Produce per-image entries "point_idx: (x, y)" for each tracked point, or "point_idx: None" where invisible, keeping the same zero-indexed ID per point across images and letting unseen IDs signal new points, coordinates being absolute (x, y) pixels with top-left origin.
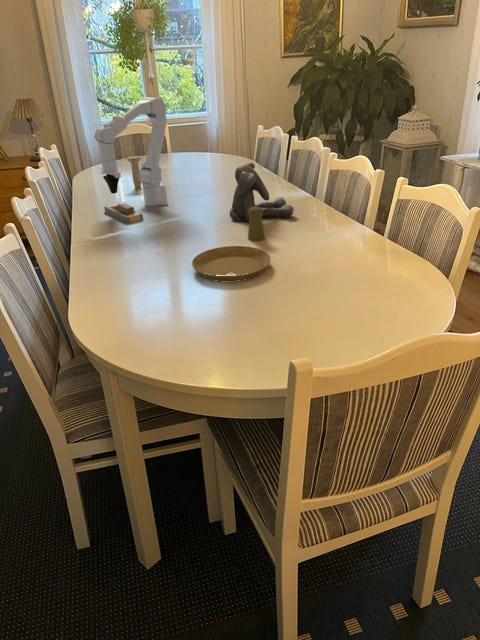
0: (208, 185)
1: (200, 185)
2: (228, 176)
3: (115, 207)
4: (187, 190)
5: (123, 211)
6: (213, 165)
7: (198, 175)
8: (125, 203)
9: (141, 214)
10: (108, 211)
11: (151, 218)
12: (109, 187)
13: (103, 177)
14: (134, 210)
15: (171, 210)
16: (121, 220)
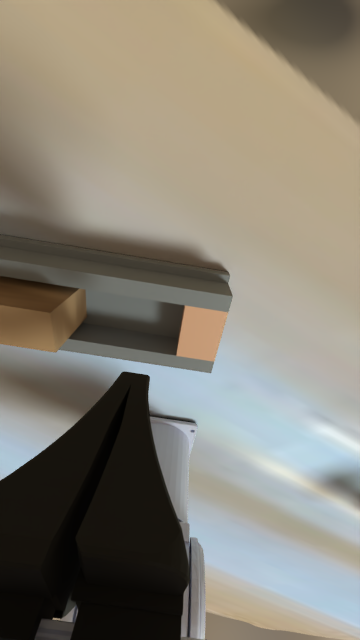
0: None
1: (221, 555)
2: (222, 589)
3: (180, 331)
4: (213, 532)
5: (2, 289)
6: (322, 615)
7: (295, 585)
8: (46, 350)
9: None
10: (173, 279)
11: (10, 355)
12: (128, 409)
13: (158, 543)
14: None
15: (63, 432)
16: (10, 247)
